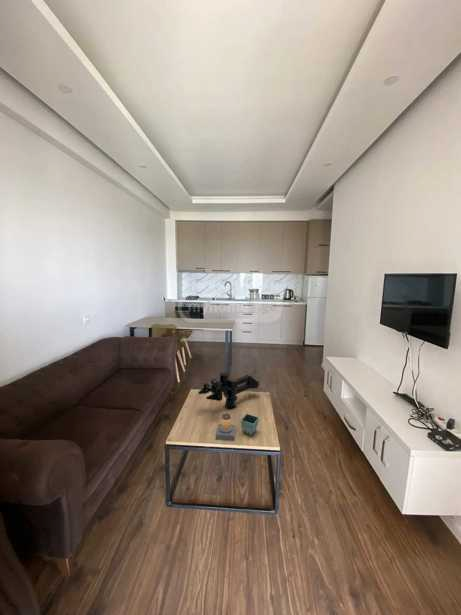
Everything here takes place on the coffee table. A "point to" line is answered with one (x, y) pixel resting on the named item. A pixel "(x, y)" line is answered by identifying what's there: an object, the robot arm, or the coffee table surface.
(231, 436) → the socket
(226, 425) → the plug
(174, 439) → the coffee table surface
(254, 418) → the flower pot
